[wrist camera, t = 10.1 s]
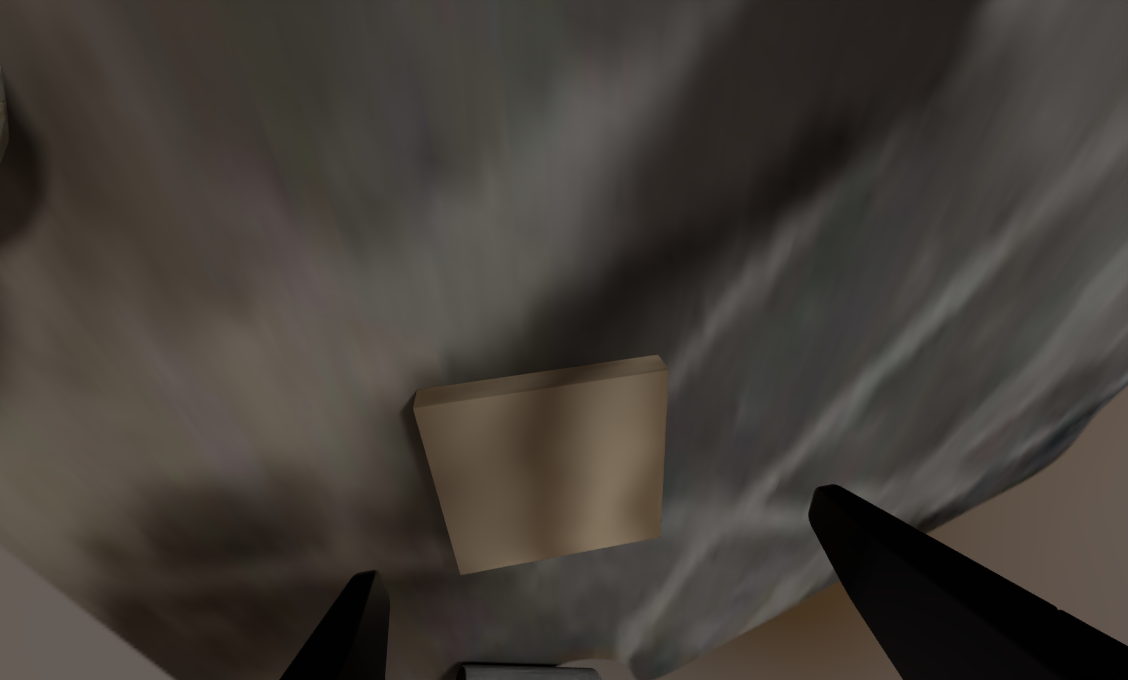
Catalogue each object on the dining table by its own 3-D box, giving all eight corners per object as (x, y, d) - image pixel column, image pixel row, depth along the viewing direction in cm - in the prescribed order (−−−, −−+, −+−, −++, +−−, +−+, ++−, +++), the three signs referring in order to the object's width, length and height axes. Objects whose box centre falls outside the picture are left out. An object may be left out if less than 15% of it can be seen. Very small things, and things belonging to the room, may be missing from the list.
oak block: (654, 349, 23) (668, 369, 22) (649, 510, 29) (660, 536, 27) (418, 383, 22) (413, 408, 20) (461, 545, 28) (460, 575, 26)
